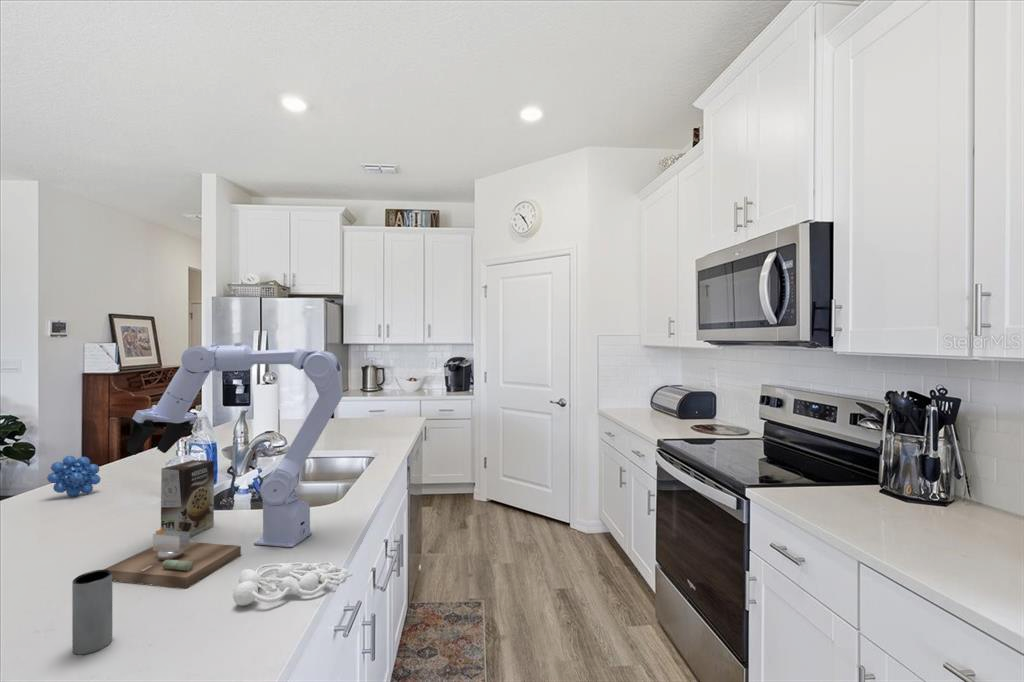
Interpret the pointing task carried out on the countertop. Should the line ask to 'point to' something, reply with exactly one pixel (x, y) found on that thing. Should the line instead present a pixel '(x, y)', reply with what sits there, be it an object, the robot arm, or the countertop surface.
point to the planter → (91, 611)
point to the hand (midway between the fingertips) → (146, 451)
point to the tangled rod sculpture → (286, 581)
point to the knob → (170, 543)
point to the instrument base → (171, 577)
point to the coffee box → (188, 497)
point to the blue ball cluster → (74, 476)
